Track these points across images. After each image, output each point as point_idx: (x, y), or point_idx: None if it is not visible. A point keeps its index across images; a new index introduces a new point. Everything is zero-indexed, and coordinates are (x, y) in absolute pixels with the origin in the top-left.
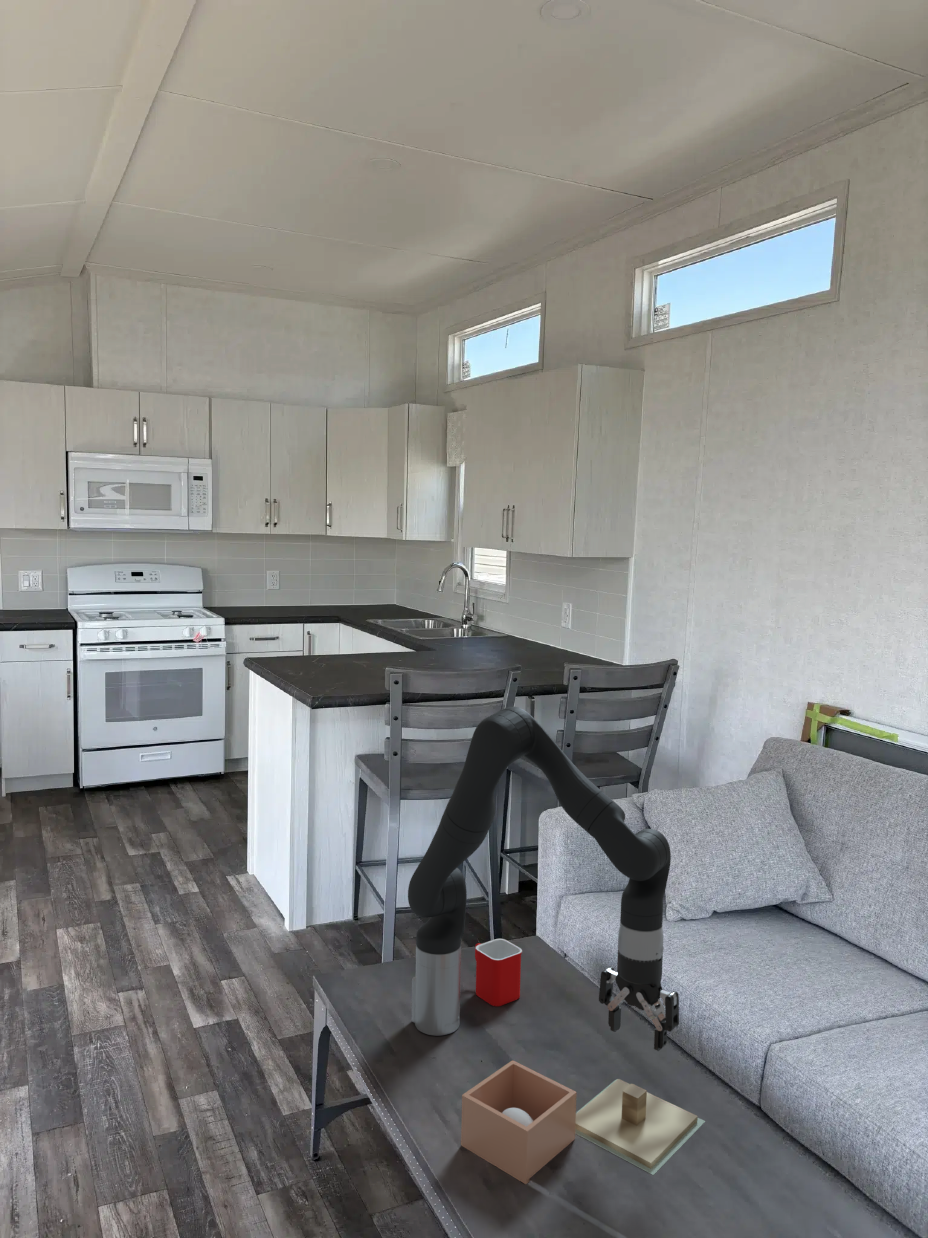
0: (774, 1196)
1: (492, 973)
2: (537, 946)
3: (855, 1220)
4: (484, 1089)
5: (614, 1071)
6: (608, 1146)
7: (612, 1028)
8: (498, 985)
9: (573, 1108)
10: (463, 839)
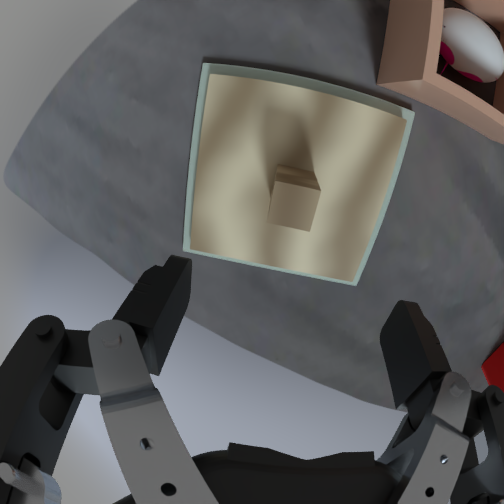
0: (59, 153)
1: None
2: None
3: (9, 175)
4: None
5: (363, 305)
6: (311, 89)
7: (412, 308)
8: None
9: (407, 71)
10: None
